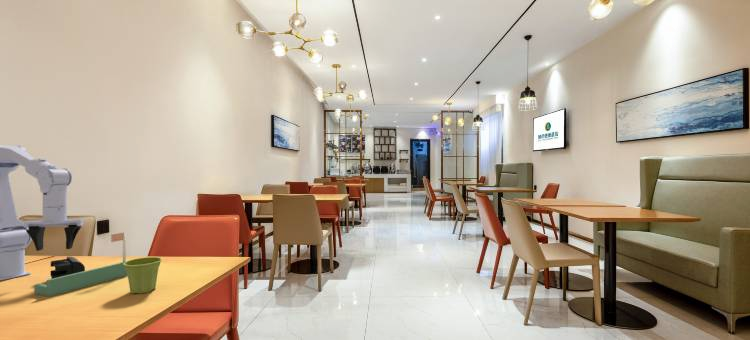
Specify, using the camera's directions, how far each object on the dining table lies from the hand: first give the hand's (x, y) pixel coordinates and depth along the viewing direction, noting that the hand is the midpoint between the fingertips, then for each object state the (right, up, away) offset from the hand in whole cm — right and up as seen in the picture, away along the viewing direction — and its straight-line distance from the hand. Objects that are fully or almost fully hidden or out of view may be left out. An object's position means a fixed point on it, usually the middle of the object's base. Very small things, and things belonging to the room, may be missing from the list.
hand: (54, 249), depth 112 cm
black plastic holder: (+3, -10, +1) cm, 11 cm away
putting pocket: (+12, -10, -2) cm, 16 cm away
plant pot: (+35, -10, -10) cm, 37 cm away
